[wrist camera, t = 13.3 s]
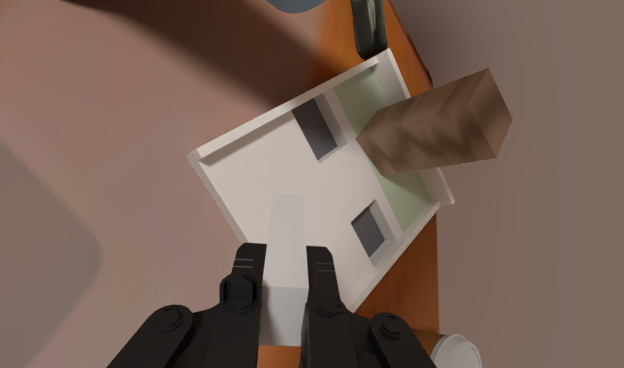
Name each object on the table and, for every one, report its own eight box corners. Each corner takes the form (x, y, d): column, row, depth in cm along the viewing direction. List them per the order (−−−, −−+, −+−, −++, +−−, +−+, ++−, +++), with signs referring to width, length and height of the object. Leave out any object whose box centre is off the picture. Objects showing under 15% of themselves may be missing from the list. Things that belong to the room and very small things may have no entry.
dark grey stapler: (392, 48, 47) (379, -51, 47) (379, 45, 45) (365, -58, 45) (368, 61, 51) (355, -31, 51) (355, 59, 49) (342, -36, 49)
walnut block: (355, 138, 43) (467, 104, 30) (377, 110, 47) (488, 68, 34) (381, 175, 46) (496, 157, 33) (401, 145, 49) (512, 119, 36)
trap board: (303, 340, 38) (333, 357, 34) (185, 155, 32) (202, 144, 28) (423, 203, 55) (455, 201, 50) (360, 65, 49) (389, 48, 44)
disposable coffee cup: (411, 320, 51) (488, 344, 41) (399, 385, 47) (479, 428, 38) (373, 306, 46) (449, 330, 36) (356, 377, 43) (434, 423, 33)
